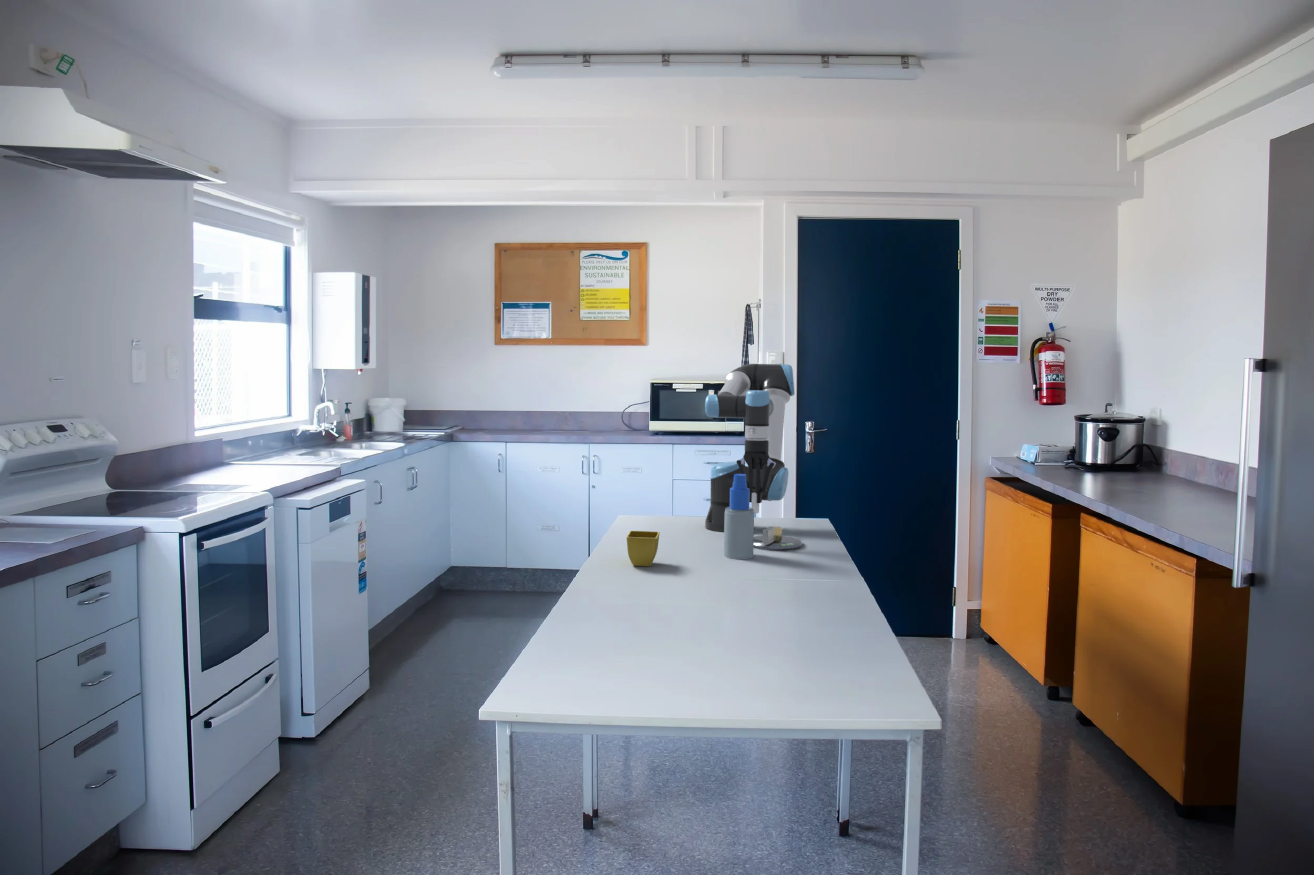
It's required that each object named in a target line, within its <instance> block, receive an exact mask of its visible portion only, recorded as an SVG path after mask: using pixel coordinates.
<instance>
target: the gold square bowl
mask: <svg viewBox="0 0 1314 875" xmlns="http://www.w3.org/2000/svg"><path fill="white" fill-rule="evenodd" d="M660 533H661V532H660V531H651V530H650V531H649V530H647V531H646V530H645V531H644V530H629V532H628V534H627V535H626V546H627V553H628V558H629V560H630V563H631V564H632V566H634V567H651V566H652V565H653V561H655V558H656V555H657V552H658V549H659V548H658V547H659V540H660Z"/></svg>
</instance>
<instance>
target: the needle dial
mask: <svg viewBox="0 0 1314 875" xmlns="http://www.w3.org/2000/svg"><path fill="white" fill-rule="evenodd" d="M762 535H763V544H770V543H772V542H778V541H782V536H783V527H781V526H775V525H774V526H772V525H771V526H768V527H766V528H764V529H762Z"/></svg>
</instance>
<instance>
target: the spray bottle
mask: <svg viewBox="0 0 1314 875" xmlns="http://www.w3.org/2000/svg"><path fill="white" fill-rule="evenodd" d="M749 499H750V489H749V488H747V483H746V474H734V482H733V488H730V507H727V508H725V523H724V531H723V532H724V536H723V540H724V541H723V556H724V557H726V558H728V559H733V560H748V559H752V558H754V537H755V534H754V533H755V514H754V509H753V508H752V507H750V502H749Z"/></svg>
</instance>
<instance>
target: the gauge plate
mask: <svg viewBox="0 0 1314 875" xmlns="http://www.w3.org/2000/svg"><path fill="white" fill-rule="evenodd" d="M754 548H755V549H758V550H762V551H763V550H764V551H772V552H773V551H774V552H775V551H776V552H778V551H780V552H781V551H782V552H784V551H785V552H786V551H794V550H798V549H801V548H802V541H801V540H800V539H799V538H796V537H793V536H787V535H782V541H778V542H772V543H770V544H763V534H762V535H754V547H753V549H754Z"/></svg>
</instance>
